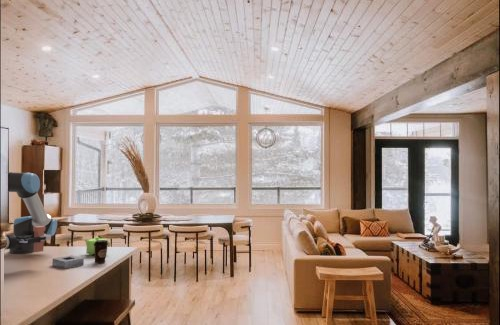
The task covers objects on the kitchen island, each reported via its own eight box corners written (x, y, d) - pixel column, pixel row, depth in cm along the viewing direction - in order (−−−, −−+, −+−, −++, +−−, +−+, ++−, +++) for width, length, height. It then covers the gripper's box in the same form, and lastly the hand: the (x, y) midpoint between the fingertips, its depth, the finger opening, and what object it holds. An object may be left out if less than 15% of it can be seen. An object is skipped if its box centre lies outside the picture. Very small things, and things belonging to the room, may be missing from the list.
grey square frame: (52, 265, 231) (52, 258, 231) (71, 261, 241) (71, 255, 241) (64, 268, 225) (64, 261, 225) (83, 265, 235) (83, 258, 235)
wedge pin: (32, 251, 226) (33, 226, 226) (40, 250, 230) (41, 225, 230) (35, 252, 224) (36, 227, 224) (44, 250, 228) (45, 226, 228)
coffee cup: (110, 261, 246) (111, 240, 246) (101, 264, 238) (102, 242, 238) (99, 260, 249) (100, 239, 249) (89, 262, 241) (90, 241, 241)
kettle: (89, 257, 255) (90, 240, 255) (80, 253, 265) (81, 237, 265) (111, 254, 265) (112, 237, 266) (102, 251, 275) (102, 235, 276)
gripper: (-3, 247, 216) (39, 241, 236) (13, 251, 207) (56, 245, 227) (-2, 233, 216) (40, 228, 236) (14, 237, 207) (56, 231, 227)
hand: (48, 236), depth 232 cm, fingers closed on wedge pin, 4 cm apart
